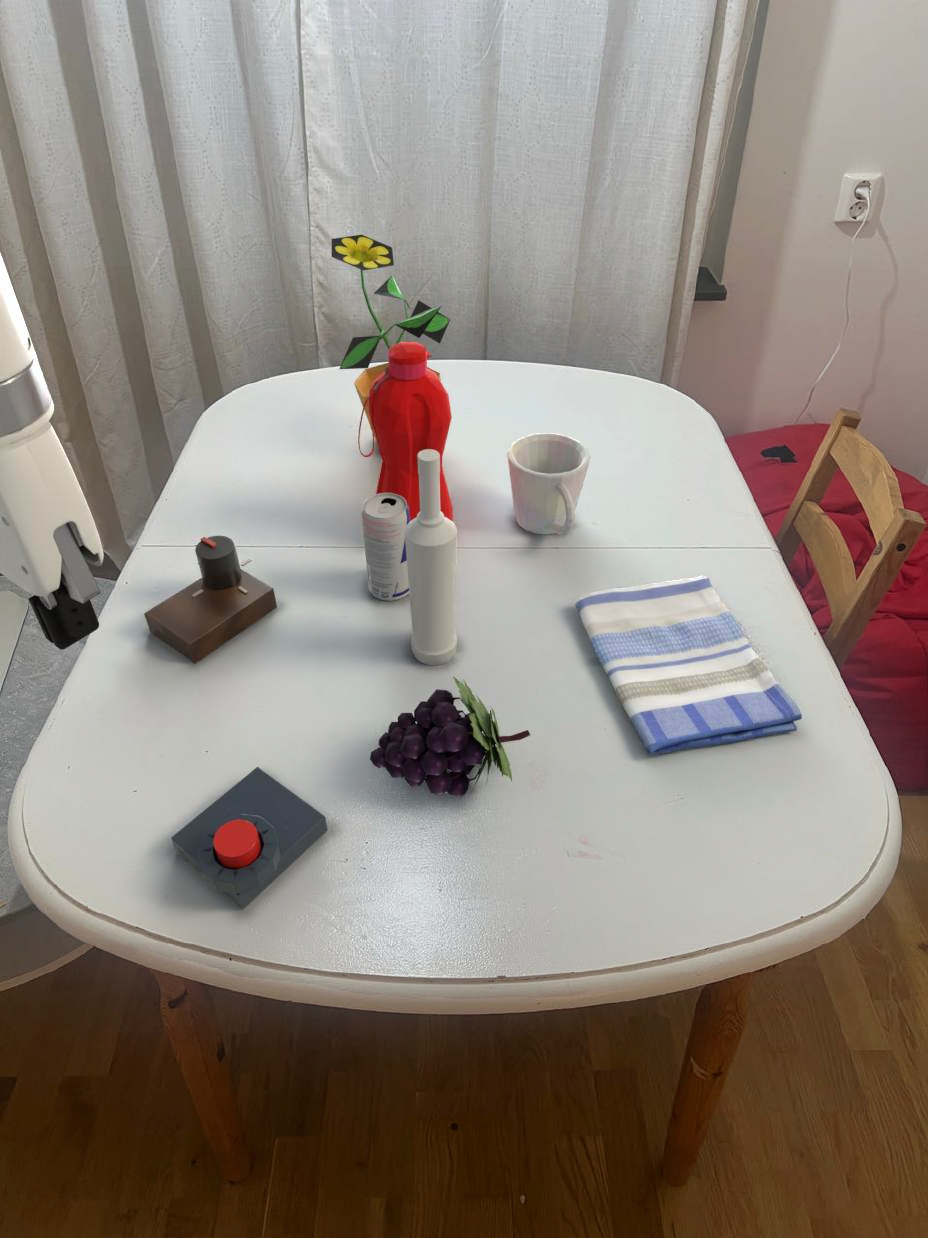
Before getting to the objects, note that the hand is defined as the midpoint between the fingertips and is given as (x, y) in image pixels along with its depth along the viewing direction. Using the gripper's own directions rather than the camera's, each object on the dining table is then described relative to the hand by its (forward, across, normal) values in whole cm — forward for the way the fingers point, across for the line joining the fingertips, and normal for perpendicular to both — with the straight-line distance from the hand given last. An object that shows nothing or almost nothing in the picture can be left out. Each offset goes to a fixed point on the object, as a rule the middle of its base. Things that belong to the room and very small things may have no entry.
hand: (74, 634), depth 60 cm
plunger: (+22, +9, +3) cm, 23 cm away
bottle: (+25, +4, +34) cm, 43 cm away
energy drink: (+25, -7, +39) cm, 47 cm away
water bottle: (+25, -13, +49) cm, 57 cm away
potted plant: (+25, -28, +65) cm, 75 cm away
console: (+25, -20, +23) cm, 40 cm away
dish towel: (+25, +26, +49) cm, 61 cm away
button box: (+25, +7, +5) cm, 27 cm away
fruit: (+25, +16, +22) cm, 37 cm away
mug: (+25, +1, +61) cm, 66 cm away
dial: (+22, -21, +25) cm, 40 cm away
